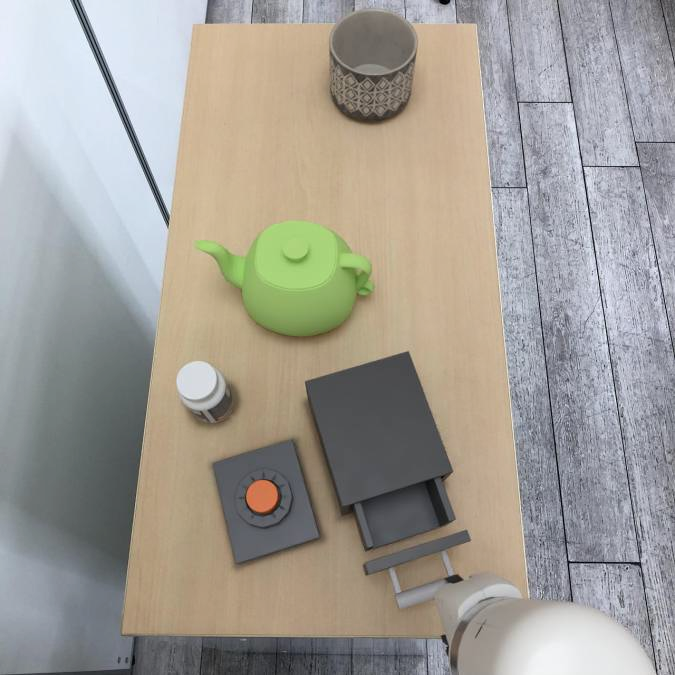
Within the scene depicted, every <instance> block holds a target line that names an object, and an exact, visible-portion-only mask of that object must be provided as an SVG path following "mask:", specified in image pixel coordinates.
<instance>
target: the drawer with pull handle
mask: <svg viewBox="0 0 675 675" xmlns="http://www.w3.org/2000/svg"><path fill="white" fill-rule="evenodd" d="M445 487H446V486H445V485H444V482H442V479H441V477H438V478H435V479H432V480H429V481H425V482H422V483H419V484H416V485H413V486H410V487H406V488H403V489H400V490H397V491H394V492H391V493H387V494H384V495H381V496H378V497H375V498H372V499H368V500H365V501H362V502H359V503H356V504H353V505H351V508H352V511H353V513H352V516H353V518H354V521H355V524H356V527H357V531H358V534H359V538H360V540H361V544H362V548H363V549H364V550H363V552H368V551H371V550H375V549H377V548H381V547H385V546H388V545H390V544H394V543H397V542H400V541H402V540H406V539H409V538H412V537H415V536H418V535H421V534H425V533H427V532H430V531H433V530H436V529H439V528H442V527H446V526H448V525H449V524H451V523H453V522H454V521H456V520H457V518H456V515H455V513H454V509H453V507H452V504H451V501H450V499H449V496H448V492H447V491H446V488H445ZM469 542H472V539H471V537H470V534H469V530H468V529H464V530H462V531H458V532H455V533H452V534H449V535H446V536H443V537H440V538H437V539H434V540H431V541H428V542H424V543H421V544H418V545H414V546H412V547H408V548H406V549H403V550H400V551H397V552H394V553H391V554H388V555H385V556H382V557H379V558H375V559H373V560H369V561H366V562H364V563H363V564H362V569H363V572H364V575H365V576H366V577H367V576H370V575H372V574H376V573H378V572H383V571H385V570H388V573H389V576H390V580H391V584H392V585H393V589H394V592H395V594H394V600H395V602H396V605H397V608H398V610H399V611H401V610H404V609H406V608H407V609H408V608H409V607H412V606H415V605H419V604H421V603H425V602H427V601H430V600H433V599H435V593H436V590H437V589H438V587H440V586H443V585H445V583H444V578H447V577H450V576H453V575H456V574H457V573H456V574H454V570H453V568H452V565H451V561H450V558H449V556H448V553H447V550H448V549H451V548H456V547H458V546H460V545H463V544H466V543H469ZM437 553H439V554H440V557H441V560H442V563H443V566H444V569H445V571H446V574H447V576H445V577H443V578H440V579H436V580H434V581H430V582H428V583H425V584H424V583H423V584H422V585H418V586H416V587H412V588H410V589H407V590H404V591H402V589H401V585H400V583H399V580H398V576H397V572H396V570H395V567H397V566H400V565H402V564H407V563H409V562H412V561H415V560H419V559H422V558H424V557H427V556H431V555H433V554H437Z"/></svg>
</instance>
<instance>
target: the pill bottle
mask: <svg viewBox="0 0 675 675" xmlns="http://www.w3.org/2000/svg"><path fill="white" fill-rule="evenodd" d="M175 383H176V389H177V394H178V397H179V399H180V401H181V403H182V404H183V405H184V406H185V407H186V408H187V409H188V410H189V412H191V414H192V415H193V416H194V417H195V418H196V419H197V420H199V421H200V422H203V423H206V424H217V423H219V422H222V421H225V419H227V418H228V417H229V416H230V415H231V413H232V412H233V409H234V408H235V401H236V399H235V394H234V392H233V390H232V388H231V386H230V384H229V383H228V382H227V379H226V378H225V376H224V375H223V373H222V372H221V371H220V370H219V369H218V368H217V367H215V366H212V364H209V363H208V362H206V361H202V360H194V361H190V362H188V363H187V364H185V365H184V366H182V367H181V368H180V370H179V371H178V373H177V375H176V380H175Z"/></svg>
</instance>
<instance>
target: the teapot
mask: <svg viewBox="0 0 675 675" xmlns="http://www.w3.org/2000/svg"><path fill="white" fill-rule="evenodd" d="M193 247H195V249H197V250H199V251H201V252H203V253H205V254H207V255H209V256H211V257H212V258H213V259H214V260H215V262H216V263H217V266H218V268H219V270H220V271H219V272H220V273H221V275H222V276H223V278H224V280H225V281H226V282H228V283H229V284H230V285H232V286H234V287H235V288H238V289H240V290H241V295H242V302H243V305H244V309H245V311H246V312H247V314H248V316H249V317H250V318H251V319H252V321H253V322H255V323H256V324H258V325H259V326H261V327H263V328H264V329H267V330H269V331H271V332H274V333H276V334H279V335H284V336H289V337H312V336H317V335H321V334H324V333H328V332H330V331H332V330H334V329H336V328H338V327H339V326H341V325H342V324H343V323H344V322H345V321H346V320H347V319H348V318H349V316H350V315H351V313H352V311H353V309H354V306H355V303H356V299H357V295H360V296H368V295H371V294H373V292H374V290H375V282H374V280H371V279H370V277H371V274H372V271H373V266H372V262H371V260H370V259H369V258H367V257H366V256H365V255H362V254H360V253H359V254H358V253H354V252H352V249H351V247H350V246H349V245H348V243H347V242H346V241H345V239H343V238H342V236H340V235H339V234H338V233H337V232H335V231H334V230H331V229H330V228H328V227H326V226H324V225H321V224H318V223H315V222H311V221H306V220H305V221H304V220H288V221H287V220H286V221H281V222H278V223H275V224H271V225H270V226H268V227H266V228H265V229H264V230H262V231H261V232H260V233H259V234H258V235H257V236H256V237H255V238H254V240H253V241H252V242H251V244H250V246H249V248H248V250H247V253H246V256H240V255H238V254H237V255H236V254H233V253H231V252H230V251H229V250H228V249H227V248H226V247H225V246H224V245H221V243H217V242H216V241H212V240H207V239H199V240H196V241H194V242H193ZM358 270H359V271H360V272H359V273H358Z"/></svg>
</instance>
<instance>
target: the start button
mask: <svg viewBox="0 0 675 675" xmlns="http://www.w3.org/2000/svg"><path fill="white" fill-rule="evenodd" d="M246 500H247V503H248V505H249V507H250V508H251V509H253V510H254V511H255V512H257V513H260V514H266V513H269V512H271V511H272V510H274V509H275V508H276V506H277V504H278V502H279V493H278V490H277V488H276V487H275V485H274V484H273V483H271V482H270V481H267V480H258V481H256V482H254V483H252V484H251V485H250V487H249V488H248V490H247V493H246Z"/></svg>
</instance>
